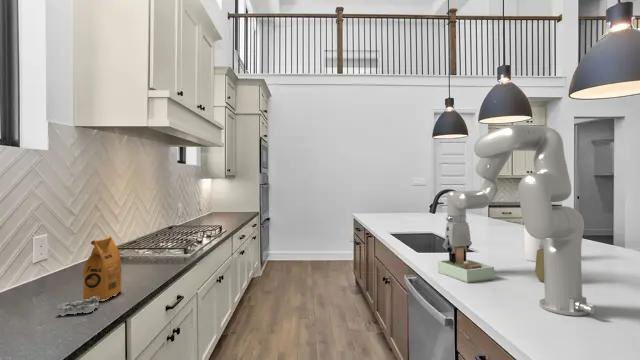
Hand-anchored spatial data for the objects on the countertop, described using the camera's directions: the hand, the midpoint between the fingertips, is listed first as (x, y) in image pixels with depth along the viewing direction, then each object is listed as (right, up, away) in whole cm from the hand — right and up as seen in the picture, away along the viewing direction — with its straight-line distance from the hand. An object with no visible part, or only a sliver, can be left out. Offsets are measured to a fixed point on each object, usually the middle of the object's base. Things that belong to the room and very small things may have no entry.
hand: (457, 260), depth 148 cm
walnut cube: (+3, -5, -8) cm, 9 cm away
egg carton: (-140, -9, -35) cm, 144 cm away
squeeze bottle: (+29, -5, -14) cm, 33 cm away
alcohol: (+46, -5, +20) cm, 50 cm away
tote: (+1, -5, -4) cm, 7 cm away
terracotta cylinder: (0, -1, 0) cm, 1 cm away
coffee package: (-141, -9, -21) cm, 142 cm away
